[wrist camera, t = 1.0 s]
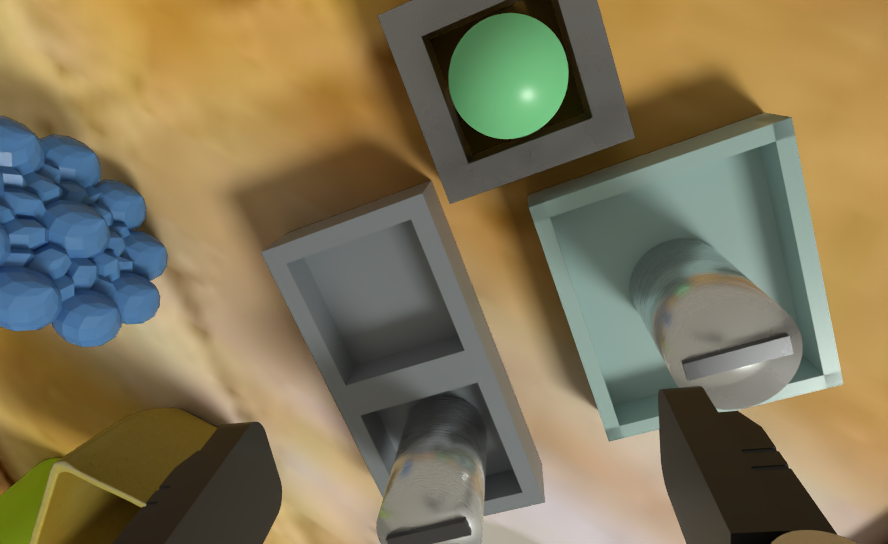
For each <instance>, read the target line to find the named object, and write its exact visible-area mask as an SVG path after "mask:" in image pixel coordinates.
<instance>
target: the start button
mask: <svg viewBox="0 0 888 544" xmlns="http://www.w3.org/2000/svg"><path fill="white" fill-rule="evenodd" d="M568 73H569V71H568V62H567V58H566V54H565V51H564V49H563V46H562V45H561V43H560V41H559V39H558V38H557V37H556V35H555V34H554V33H553V32H552V31H551V30H550V29H549V27H547V26H546V25H545V24H543V23H542V22H540V21H539V20H537V19H535V18H533V17H530V16H527V15H523V14H518V13H503V14H498V15H494V16H491V17H488V18H486V19H484V20H482V21H480V22H479V23H477V24H476V25H474V26H473V27H472V28H471V29H470V30H469V31H468V32H467V33H466V34H465V35H464V36H463V37H462V39H461V40H460V42H459V43H458V45H457V47H456V49H455V51H454V53H453V56H452V58H451V62H450V67H449V76H448V79H449V90H450V94H451V98H452V101H453V103H454V106H455V108H456V109H457V111H458V113H459V114H460V116H461V117H462V118H463V119H464V121H465V122H466V123H467V124H468V125H470V126H471V127H472V128H474V129H475V130H476V131H478V132H480V133H482V134H484V135H487V136H489V137H493V138H499V139H514V138H520V137H523V136H526V135H529V134H531V133H533V132H535V131H537V130H538V129H540V128H541V127H543V126H544V125H545V124H546V123H547V122H548V121H549V120H550V119H551V118H552V117H553V116H554V115H555V113H556V112H557V111H558V109H559V107H560V105H561V104H562V101H563V99H564V97H565V93H566V90H567V85H568Z"/></svg>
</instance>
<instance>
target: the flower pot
mask: <svg viewBox="0 0 888 544" xmlns="http://www.w3.org/2000/svg"><path fill="white" fill-rule="evenodd" d="M216 430H217V427H215V426H213V425H211V424H209V423H207V422H205V421H203V420H201V419H199V418H197V417H195V416H193V415H191V414H189V413H188V412H186V411H184V410H181V409H178V408H157V409H151V410H146V411H142V412H139V413H135V414H133V415H130V416H128V417H126V418H124V419H122V420H120V421H118V422H117V423H115V424H113V425H112V426H110V427H109V428H107V429H105V430H104V431H102V432H101V433H99V434H98V435H96V436H94V437H93V438H91V439H90V440H88V441H87V442H85V443H84V444H82V445H81V446H79V447H78V448H76V449H75V450H73V451H72V452H70V453H69V454H67V455H66V456H64V457H63V458H61V459H60V460H58V461H56V462H54V464H53V466H52V468H51V471H50V474H49V478H48V482H47V485H46V488H45V492H44V496H43V500H42V503H41V507H40V510H39V513H38V517H37V520H36V523H35V526H34V530H33V533H32V537H31V540H30V542H29V544H112V543H113V542H114V540H115V539H116V538H117V537H118V536H119V534H120V533H121V532H122V531H123V530H124V528H125V527H126V526H127V525H128V524H129V522H130V521H131V520H132V519H133V517H134V516H135V515H136V514H137V513H138V511H139V510H140V509H141V508H142V507H144V506H146V502H147V501H148V499H149V498H150V497H151V496H152V495H153V493H154V492H155V491H156V490H159V486H160V485H161V484H162V483H163V481H164V480H165V479H166V478H167V477H168V475H169V474H170V473H171V472H172V471H173V469H174V468H175V467H176V466H178V465H179V464H180V463H182V462H183V461H184V460H186V459H187V458H188V457H190V456H191V455H192V454H194V453H195V452H196V451H200V450H201V448H202V447H203V446H204V445H205V443H206V442H207V441H208V440H209V438H210V437H211V436H212V435H213V433H214V432H215V431H216Z"/></svg>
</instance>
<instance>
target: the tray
mask: <svg viewBox="0 0 888 544" xmlns="http://www.w3.org/2000/svg"><path fill="white" fill-rule="evenodd" d="M527 199H528V206H529V210H530V213H531V216H532V219H533V222H534V224H535V227H536V230H537V233H538V236H539V239H540V242H541V245H542V248H543V251H544V254H545V256H546V259H547V262H548V265H549V268H550V271H551V274H552V277H553V280H554V283H555V286H556V288H557V291H558V294H559V297H560V300H561V303H562V306H563V309H564V312H565V315H566V318H567V320H568V323H569V326H570V329H571V332H572V335H573V338H574V341H575V344H576V347H577V350H578V352H579V355H580V358H581V361H582V364H583V367H584V370H585V373H586V376H587V379H588V382H589V384H590V387H591V390H592V393H593V396H594V399H595V402H596V405H597V408H598V411H599V414H600V417H601V419H602V422H603V425H604V428H605V431H606V434H607V437H608V440H609V441H613V440H617V439H621V438H625V437H630V436H634V435H638V434H642V433H646V432H650V431H654V430H658V429H659V411H658V392H659V390H660V389H669V388H679V387H678V386H677V384H676V383H675V381H674V379H673V377H672V375H671V373H670V372H669V370H668V368H667V366H666V364H665V362H664V360H663V358H662V356H661V354H660V353H659V351H658V349H657V347H656V345H655V343H654V341H653V339H652V337H651V336H650V334H649V332H648V330H647V328H646V326H645V324H644V322H643V320H642V318H641V317H640V315H639V313H638V311H637V309H636V307H635V305H634V303H633V301H632V298H631V294H630V279H631V275H632V272H633V269H634V267H635V265H636V264H637V262H638V261H639V259H640V258H641V257H642V256H643V255H644V254H645V253H646V252H647V251H648V250H650V249H651V248H653V247H654V246H656V245H658V244H660V243H662V242H665V241H668V240H672V239H678V238H689V239H695V240H699V241H702V242H704V243H706V244H708V245H710V246H712V247H713V248H714V249H716V250H717V251H718V252H719V253H720V254H721V255H722V256H723V257H725V258H726V259H727V260H728V261H729V262H730V263H731V264H732V265H734V266H735V267H736V268H737V269H738V270H739V271H740V272H742V273H743V274H744V275H745V276H746V277H747V278H748V279H749V280H751V281H752V282H753V283H754V284H755V285H756V286H757V287H758V288H760V289H761V290H762V291H763V292H764V293H765V294H766V295H768V296H769V297H770V298H771V299H772V300H773V301H774V302H775V303H777V304H778V305H779V306H780V307H781V308H782V309H783V310H784V311H786V312H787V313H788V314H789V315H790V316H791V317H792V319H793V320H794V321H795V323H796V324H797V326H798V329H799V331H800V334H801V337H802V344H803V350H802V358H801V362H800V364H799V367H798V369H797V371H796V373H795V375H794V376H793V378H792V379H791V381H790V382H789V383H788V384H787V385H786V386H785V387H784V388H783V389H782V390H781V391H780V392H779V393H777V394H776V395H775V396H773V397H772V398H770V399H768V400H766V401H764V402H762V403H760V404H757V405H761V404H765V403H769V402H773V401H777V400H781V399H785V398H789V397H793V396H797V395H801V394H806V393H810V392H814V391H818V390H822V389H826V388H830V387H834V386H838V385H842V384H843V380H842V374H841V369H840V364H839V359H838V354H837V349H836V344H835V338H834V333H833V328H832V323H831V318H830V313H829V308H828V302H827V297H826V292H825V287H824V282H823V277H822V271H821V266H820V261H819V256H818V251H817V246H816V241H815V235H814V230H813V225H812V220H811V215H810V210H809V205H808V199H807V194H806V189H805V184H804V179H803V174H802V168H801V163H800V158H799V153H798V148H797V143H796V138H795V132H794V127H793V122H792V117H787V116H781V115H776V114H770V113H762V114H759V115H756V116H753V117H750V118H748V119H745V120H742V121H739V122H736V123H733V124H730V125H727V126H725V127H722V128H719V129H716V130H713V131H710V132H707V133H705V134H702V135H699V136H696V137H693V138H690V139H687V140H684V141H682V142H679V143H676V144H673V145H670V146H667V147H664V148H662V149H659V150H656V151H653V152H650V153H647V154H644V155H641V156H639V157H636V158H633V159H630V160H627V161H624V162H621V163H619V164H616V165H613V166H610V167H607V168H604V169H601V170H599V171H596V172H593V173H590V174H587V175H584V176H581V177H578V178H576V179H573V180H570V181H567V182H564V183H561V184H558V185H556V186H553V187H550V188H547V189H544V190H541V191H538V192H535V193H533V194H530V195H527ZM754 406H756V405H754ZM751 407H752V406H751ZM742 409H744V408H742ZM716 410H717V411H718V412H728V411H736V410H740V409H734V410H722V409H716Z"/></svg>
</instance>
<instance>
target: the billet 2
mask: <svg viewBox="0 0 888 544" xmlns="http://www.w3.org/2000/svg"><path fill="white" fill-rule="evenodd" d="M630 294H631V298H632V301H633V303H634V305H635V307H636V309H637V311H638V313H639V315H640V317H641V318H642V320H643V322H644V324H645V326H646V328H647V330H648V332H649V334H650V336H651V337H652V339H653V341H654V343H655V345H656V347H657V349H658V351H659V353H660V354H661V356H662V358H663V360H664V362H665V364H666V366H667V368H668V370H669V372H670V373H671V375H672V377H673V379H674V381H675V383H676V384H677V386H678V387H679V388H681V387H693V386H702V387H703V388H704V390H705V392H706V393H707V395H708V396H709V398H710V400H711V401H712V403H713V405H714V406H715V408H716V409H722V410H734V409H742V408H748V407H751V406H754V405H757V404H760V403H762V402H764V401H766V400H768V399H770V398H772V397H773V396H775V395H776V394H777V393H779V392H780V391H781V390H782V389H783V388H784V387H785V386H786V385H787V384H788V383H789V382H790V381H791V379H792V378H793V376H794V375H795V373H796V371H797V369H798V367H799V364H800V362H801V358H802V350H803V344H802V337H801V334H800V331H799V329H798V326H797V324H796V323H795V321H794V320H793V319H792V317H791V316H790V315H789V314H788V313H787V312H786V311H784V310H783V309H782V308H781V307H780V306H779V305H778V304H777V303H775V302H774V301H773V300H772V299H771V298H770V297H769V296H768V295H766V294H765V293H764V292H763V291H762V290H761V289H760V288H758V287H757V286H756V285H755V284H754V283H753V282H752V281H751V280H749V279H748V278H747V277H746V276H745V275H744V274H743V273H742V272H740V271H739V270H738V269H737V268H736V267H735V266H734V265H732V264H731V263H730V262H729V261H728V260H727V259H726V258H725V257H723V256H722V255H721V254H720V253H719V252H718V251H717V250H716V249H714V248H713V247H712V246H710V245H708V244H706V243H704V242H702V241H699V240H695V239H689V238H678V239H672V240H668V241H665V242H662V243H660V244H658V245H656V246H654V247H653V248H651V249H650V250H648V251H647V252H646V253H645V254H644V255H643V256H642V257H641V258H640V259H639V261H638V262H637V264H636V265H635V267H634V269H633V272H632V275H631V279H630Z"/></svg>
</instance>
